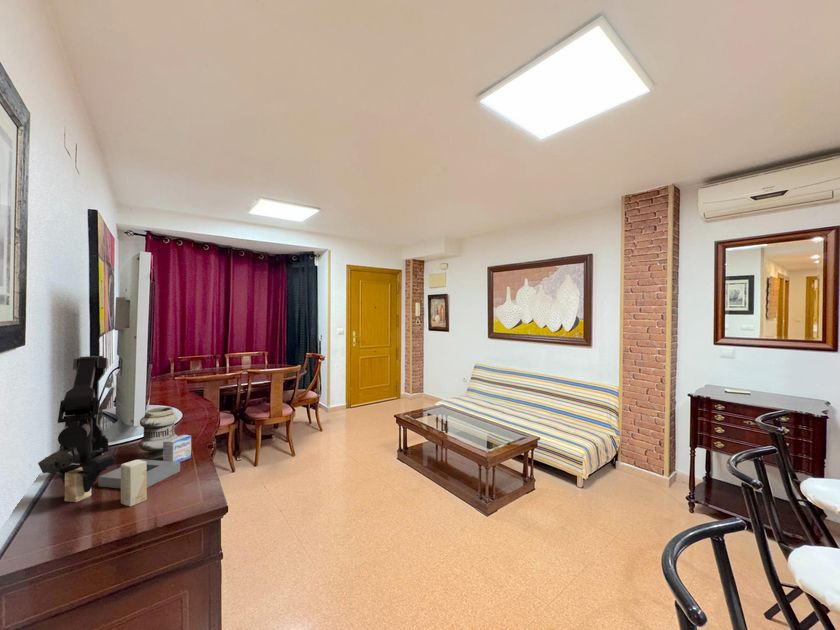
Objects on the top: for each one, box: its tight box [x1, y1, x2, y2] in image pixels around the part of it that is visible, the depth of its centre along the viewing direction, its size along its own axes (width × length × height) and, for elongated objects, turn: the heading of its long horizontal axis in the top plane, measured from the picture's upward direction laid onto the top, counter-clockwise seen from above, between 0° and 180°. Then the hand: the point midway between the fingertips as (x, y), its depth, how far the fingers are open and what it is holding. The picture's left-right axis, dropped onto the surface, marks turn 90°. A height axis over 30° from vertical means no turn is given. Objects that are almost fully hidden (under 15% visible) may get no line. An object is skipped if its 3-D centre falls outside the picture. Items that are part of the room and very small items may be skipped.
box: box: [120, 459, 148, 507], centre depth 100 cm, size 5×4×11 cm
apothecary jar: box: [138, 406, 179, 461], centre depth 134 cm, size 12×12×18 cm
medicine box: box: [162, 434, 192, 463], centre depth 129 cm, size 8×4×9 cm, turn 168°
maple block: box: [64, 467, 92, 503], centre depth 102 cm, size 4×4×8 cm
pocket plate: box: [97, 458, 181, 489], centre depth 115 cm, size 16×14×3 cm
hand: (78, 491), depth 102 cm, fingers open, 6 cm apart
